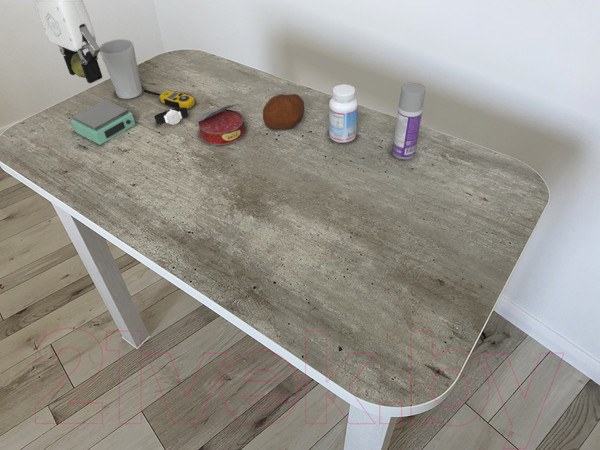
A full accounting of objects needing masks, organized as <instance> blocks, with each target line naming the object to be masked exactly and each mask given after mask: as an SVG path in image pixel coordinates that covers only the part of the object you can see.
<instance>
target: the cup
mask: <svg viewBox="0 0 600 450" xmlns="http://www.w3.org/2000/svg"><path fill="white" fill-rule="evenodd" d="M99 48H100V51H99V54H100V56H101V59H102V61H103V63H104V65H105V68H106V71H107V73H108V75H109V78H110V81H111V83H112V85H113V88H114V90H115V93H116V96H117V97H118V98H119V99H123V100H129V99H134V98H136V97H139V96H140V95H141V94H142V93H143V88H142V83H141V79H140V77H141V76H140V73H139V68H138V62H137V57H136V53H135V46H134V43H133V41H131V40H129V39H124V38H123V39H122V38H121V39H113V40H108V41H106V42H103V43H102V44H101V45H99Z"/></svg>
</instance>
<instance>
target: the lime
mask: <svg viewBox="0 0 600 450" xmlns="http://www.w3.org/2000/svg"><path fill="white" fill-rule="evenodd" d="M81 64H83V62H82V60H81V58H80V56H79V54H78V53H75V54H74V55H73V56H72V58H71V65H72V67H71V68H72V70H73V71H74V73H75V75H76V76H77V77H78V78H83V79H86V77H85V74H84V71H83V68H82V66H81Z"/></svg>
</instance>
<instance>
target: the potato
mask: <svg viewBox="0 0 600 450" xmlns="http://www.w3.org/2000/svg"><path fill="white" fill-rule="evenodd" d="M304 113H305V102H304V100H303V99H302V97H301V96H300V95H299V94H296V93H291V94H283V93H282V94H277V95H274V96H272V97H271V98H270V99H269V100H268V101H267V102H266V103H265V105H264V106H263V109H262V120H263V123H264V125H265V127H267V128H268V129H271V130H274V131H280V130H290V129H292V128H294V127H296V126H297V125H298V124H299V123H300V122H301V121H302V119H303V117H304Z"/></svg>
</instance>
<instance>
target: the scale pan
mask: <svg viewBox="0 0 600 450" xmlns="http://www.w3.org/2000/svg"><path fill="white" fill-rule="evenodd" d="M129 112H130V111H128V108H125V107H123V106H121V105H118V104H116V103H114V102H112V101H110V100H108V99H103V100H102V101H99V102H98V103H96V104H94V105H92V106H90V107H87V108H86V109H84V110H83V111H80V112H78V113H77V114H75V115H73V116H72V120H75V121H77V122H79V123H81V124H83V125H85V126H87V127H89V128H91V129H93V130H95V131H96V130H98V129H100V128H102V127H104V126H105V125H107V124H109V123H111V122H113V121H114V120H116V119H118V118H120V117H122V116H123V115H125V114H127V113H129Z"/></svg>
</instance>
